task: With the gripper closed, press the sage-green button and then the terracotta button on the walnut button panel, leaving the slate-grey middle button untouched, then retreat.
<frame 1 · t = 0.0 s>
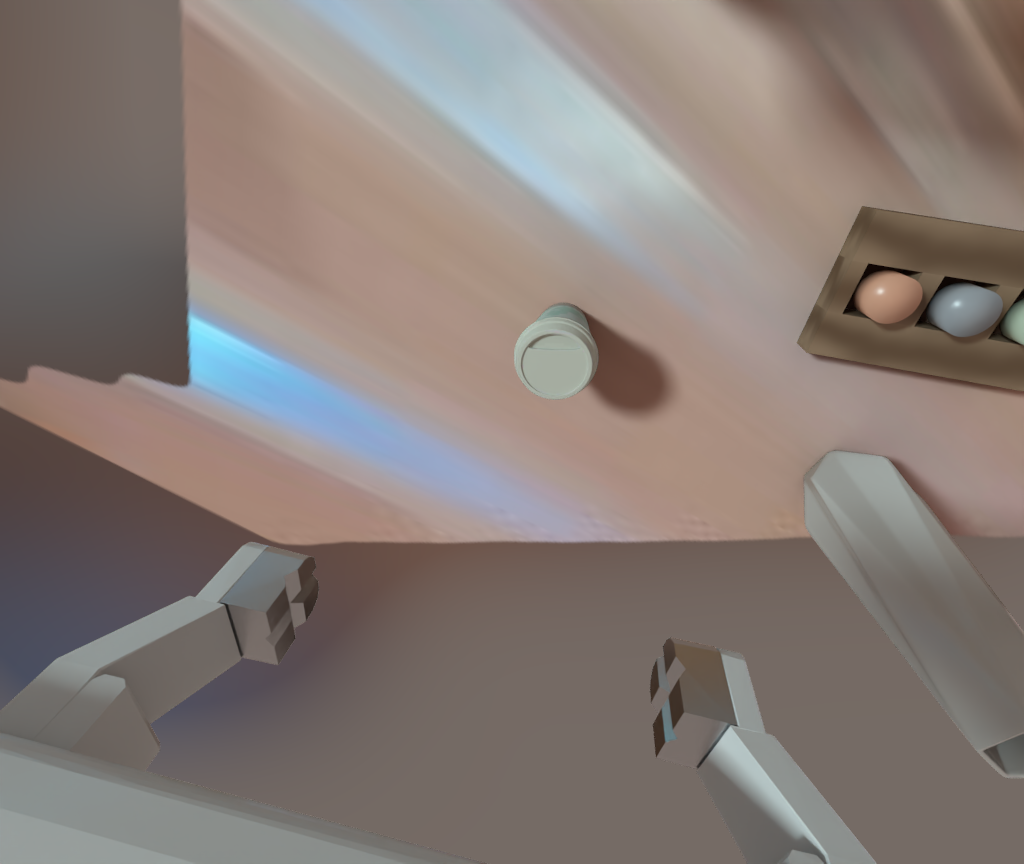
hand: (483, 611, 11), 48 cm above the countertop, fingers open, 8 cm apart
button grey: (962, 309, 45), point 4 cm above the countertop, slide at 0.0 cm
coffee cup: (563, 326, 56), on the countertop
white faceted column: (839, 469, 60), on the countertop
panel: (937, 298, 48), on the countertop
button terracotta: (886, 296, 45), point 4 cm above the countertop, slide at 0.0 cm
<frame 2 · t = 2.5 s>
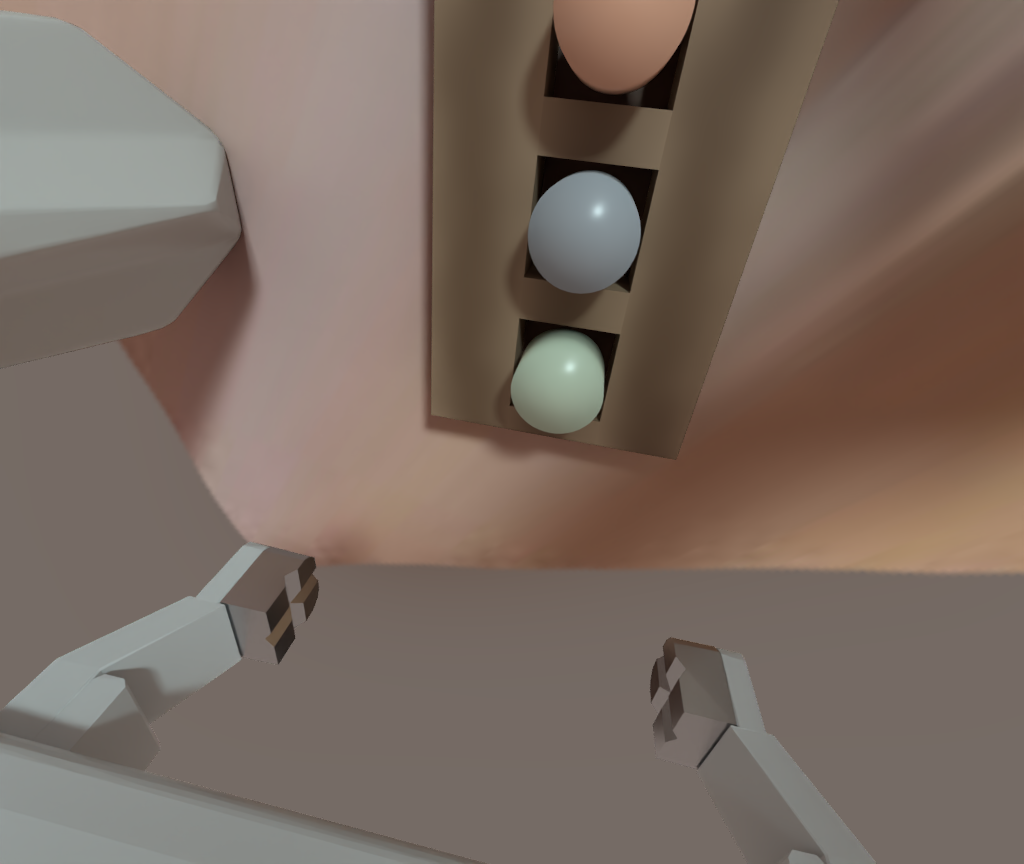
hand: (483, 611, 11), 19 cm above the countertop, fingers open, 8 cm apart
button grey: (584, 231, 20), point 4 cm above the countertop, slide at 0.0 cm
white faceted column: (191, 184, 26), on the countertop
panel: (589, 218, 23), on the countertop
button sage: (559, 380, 24), point 4 cm above the countertop, slide at 0.0 cm
button terracotta: (622, 12, 16), point 4 cm above the countertop, slide at 0.0 cm
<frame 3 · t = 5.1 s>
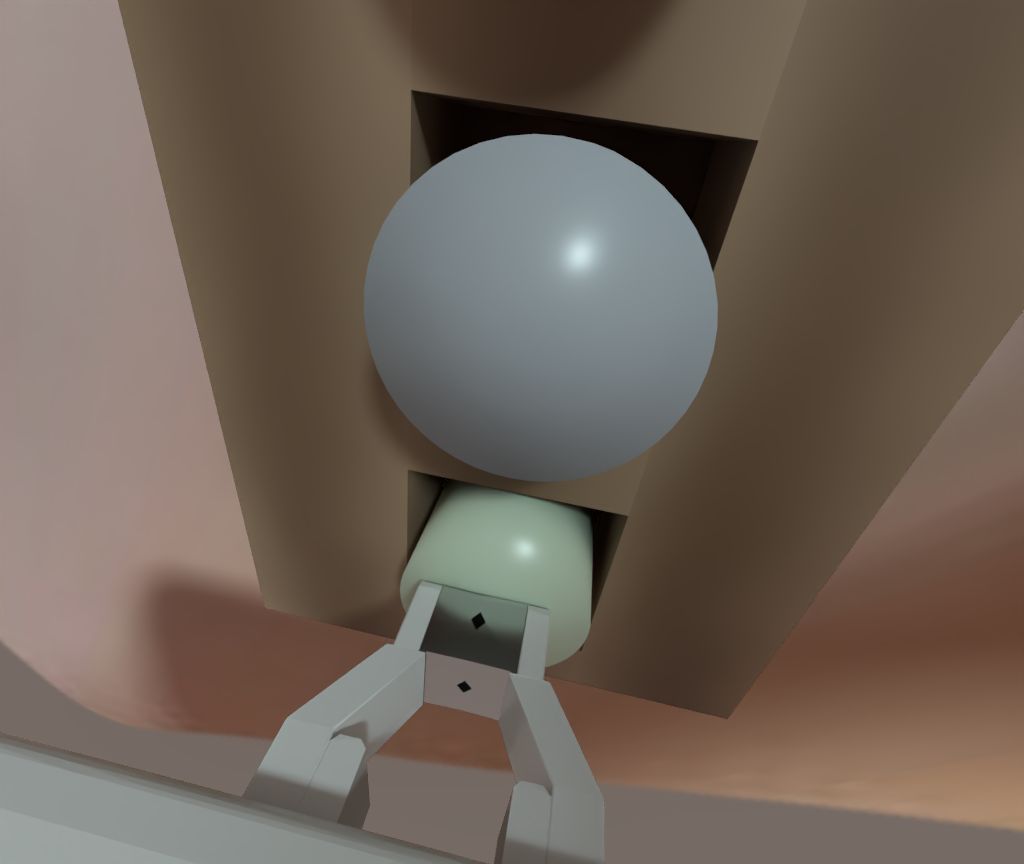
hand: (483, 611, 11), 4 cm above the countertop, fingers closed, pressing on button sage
button grey: (543, 306, 7), point 4 cm above the countertop, slide at 0.0 cm
panel: (563, 255, 11), on the countertop
button sage: (504, 562, 12), point 3 cm above the countertop, slide at 1.2 cm, touching gripper
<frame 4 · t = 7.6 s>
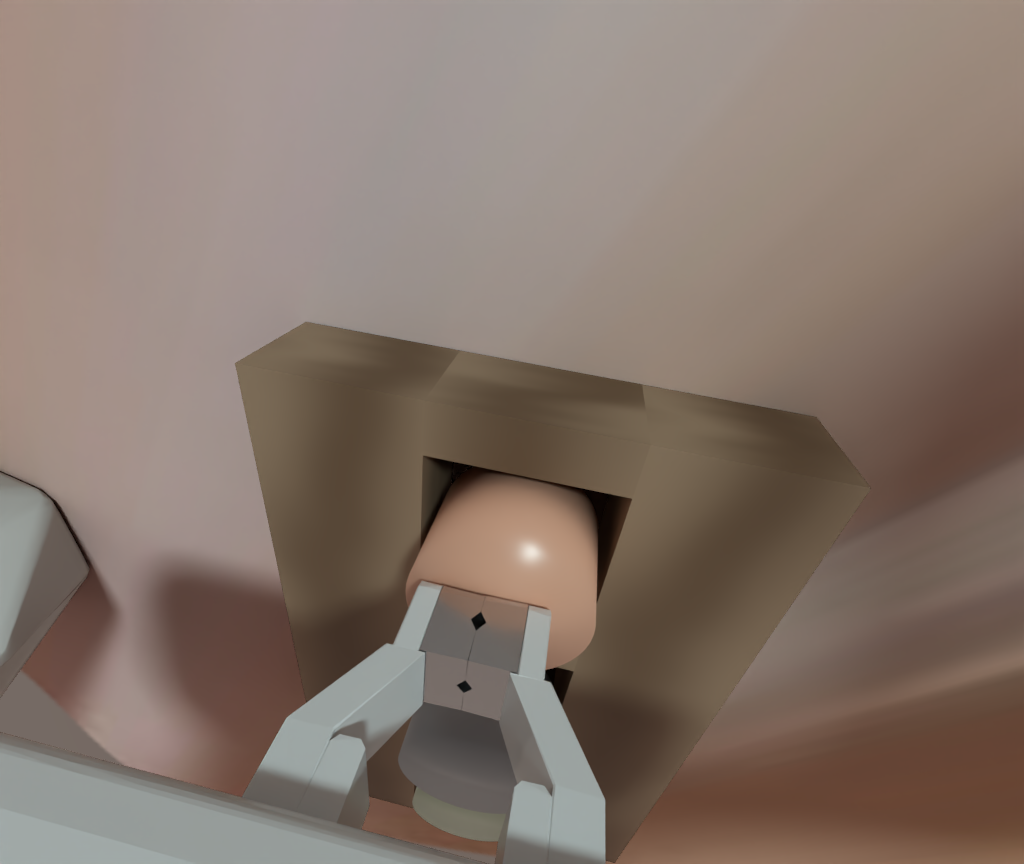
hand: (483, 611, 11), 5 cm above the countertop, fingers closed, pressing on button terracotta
button grey: (480, 725, 15), point 4 cm above the countertop, slide at 0.0 cm
white faceted column: (23, 518, 21), on the countertop
panel: (503, 620, 19), on the countertop
button sage: (473, 774, 20), point 3 cm above the countertop, slide at 1.4 cm
button terracotta: (509, 563, 12), point 3 cm above the countertop, slide at 0.6 cm, touching gripper
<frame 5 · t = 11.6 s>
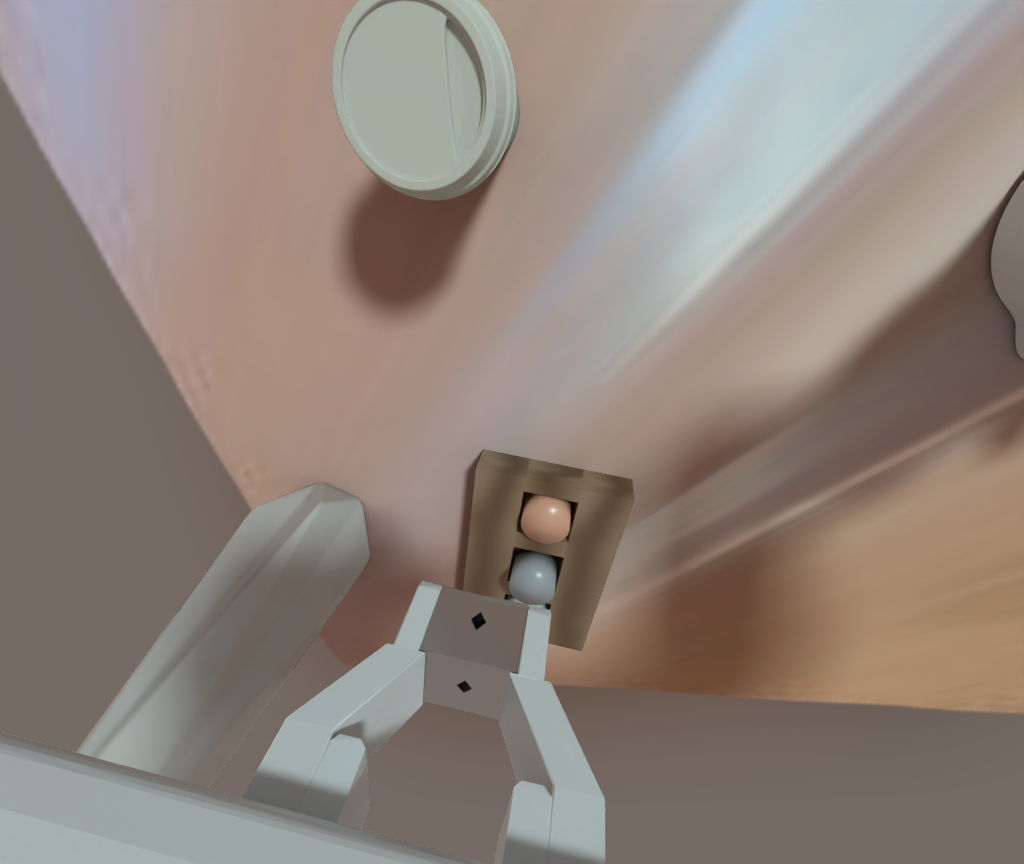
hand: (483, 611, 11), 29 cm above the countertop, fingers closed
button grey: (533, 577, 46), point 4 cm above the countertop, slide at 0.0 cm
coffee cup: (476, 113, 31), on the countertop
white faceted column: (340, 510, 52), on the countertop
panel: (538, 548, 49), on the countertop
button sage: (525, 611, 51), point 3 cm above the countertop, slide at 1.4 cm
button terracotta: (546, 514, 44), point 3 cm above the countertop, slide at 1.4 cm
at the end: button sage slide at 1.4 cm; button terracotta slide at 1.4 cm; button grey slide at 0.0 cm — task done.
